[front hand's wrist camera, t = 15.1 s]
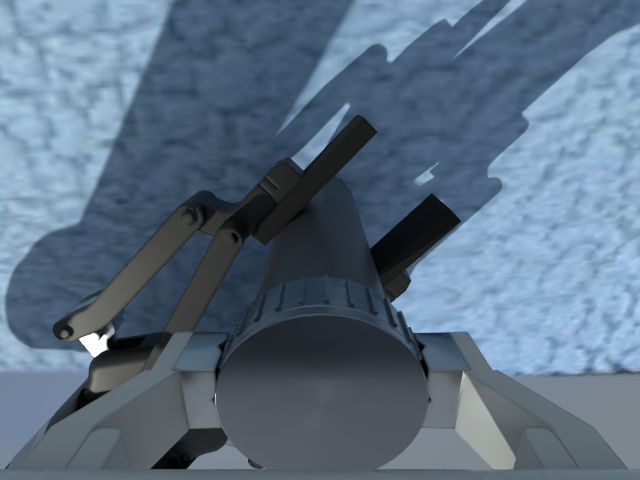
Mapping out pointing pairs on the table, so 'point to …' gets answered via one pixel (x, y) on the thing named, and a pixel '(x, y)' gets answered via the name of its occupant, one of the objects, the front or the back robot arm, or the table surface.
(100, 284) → the table surface
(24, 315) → the table surface
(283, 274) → the dark grey cylinder
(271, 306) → the lid
